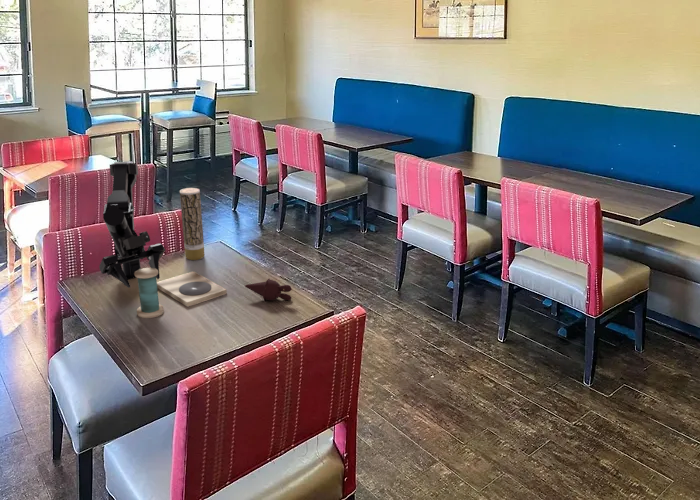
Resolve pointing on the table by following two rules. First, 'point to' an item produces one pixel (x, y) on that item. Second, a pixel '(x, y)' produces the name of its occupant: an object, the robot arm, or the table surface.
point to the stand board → (191, 288)
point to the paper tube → (192, 223)
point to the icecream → (270, 290)
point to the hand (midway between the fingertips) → (144, 282)
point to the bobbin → (148, 293)
